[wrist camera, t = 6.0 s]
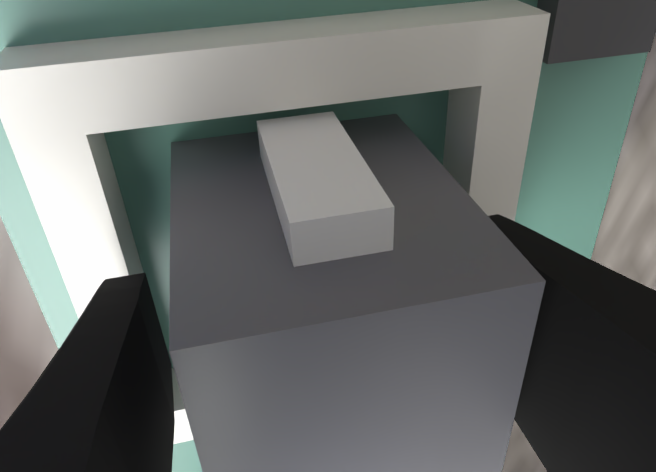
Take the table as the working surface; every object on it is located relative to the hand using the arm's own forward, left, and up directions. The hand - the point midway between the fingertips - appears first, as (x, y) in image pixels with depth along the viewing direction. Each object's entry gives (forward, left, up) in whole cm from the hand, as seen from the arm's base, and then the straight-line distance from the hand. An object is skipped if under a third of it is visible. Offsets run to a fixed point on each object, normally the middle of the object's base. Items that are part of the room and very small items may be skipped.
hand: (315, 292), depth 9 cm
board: (0, -1, -3) cm, 3 cm away
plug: (0, 0, -2) cm, 2 cm away
